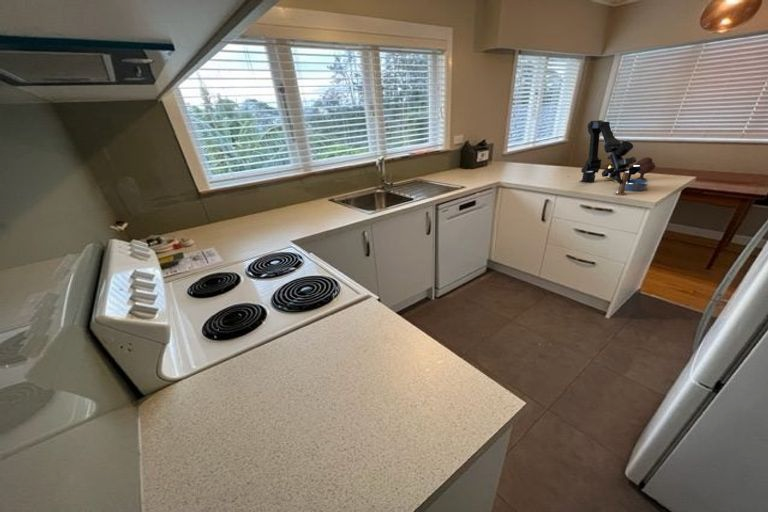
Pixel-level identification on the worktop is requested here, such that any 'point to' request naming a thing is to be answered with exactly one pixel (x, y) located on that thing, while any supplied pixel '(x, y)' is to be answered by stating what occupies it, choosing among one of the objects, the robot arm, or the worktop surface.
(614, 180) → the candy box
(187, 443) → the worktop surface
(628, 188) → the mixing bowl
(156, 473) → the worktop surface
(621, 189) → the stirring stick
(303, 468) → the worktop surface
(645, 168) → the brown tree model
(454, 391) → the worktop surface
